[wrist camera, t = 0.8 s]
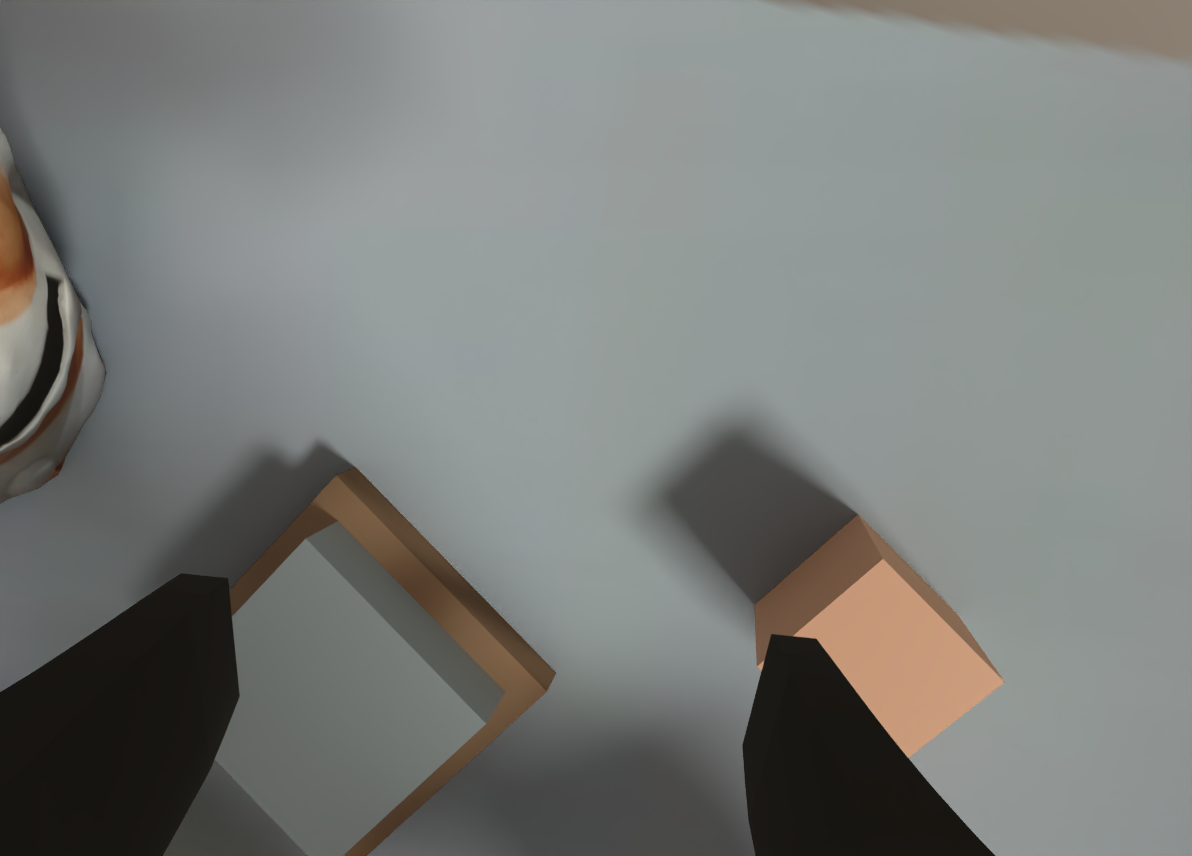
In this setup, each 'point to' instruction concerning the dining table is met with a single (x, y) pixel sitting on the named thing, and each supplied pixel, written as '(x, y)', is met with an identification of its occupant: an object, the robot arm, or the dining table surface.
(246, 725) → the slate top slab
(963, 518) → the dining table surface
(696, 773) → the dining table surface
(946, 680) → the terracotta block
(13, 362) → the lucky cat figurine
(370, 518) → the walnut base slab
